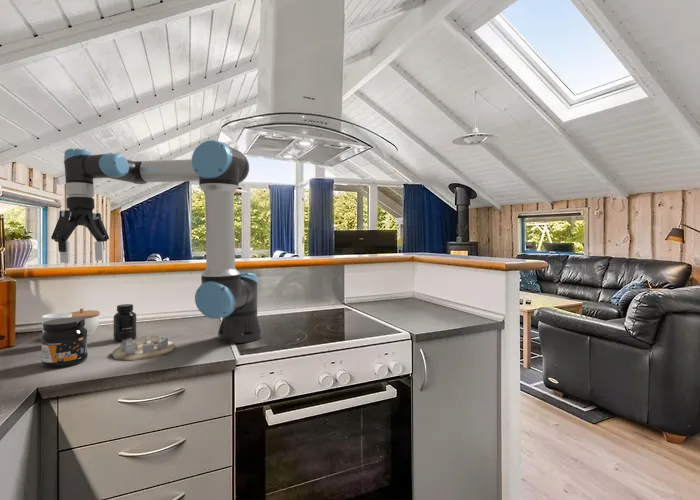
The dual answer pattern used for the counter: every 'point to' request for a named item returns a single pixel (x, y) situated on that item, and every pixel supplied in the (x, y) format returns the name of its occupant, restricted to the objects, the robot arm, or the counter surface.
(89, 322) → the lidded jar
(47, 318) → the white cup
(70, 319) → the supplement container
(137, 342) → the castellated ring
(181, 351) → the counter surface
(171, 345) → the seat plate
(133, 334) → the supplement bottle
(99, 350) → the counter surface
